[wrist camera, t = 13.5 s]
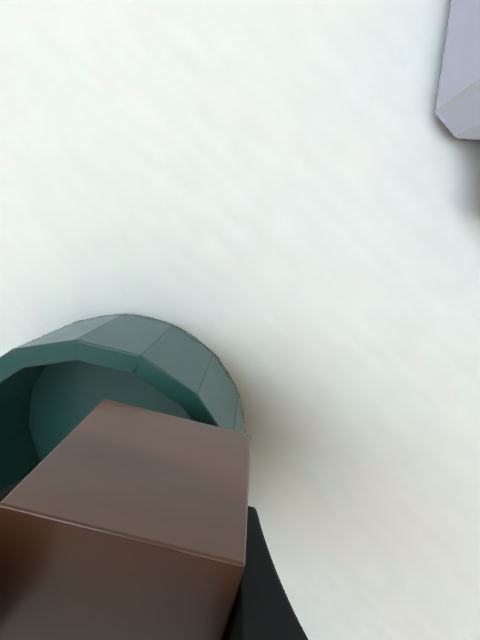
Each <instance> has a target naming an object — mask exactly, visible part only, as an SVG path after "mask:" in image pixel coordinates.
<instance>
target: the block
mask: <svg viewBox="0 0 480 640" xmlns="http://www.w3.org/2000/svg"><path fill="white" fill-rule="evenodd" d="M249 462H250V435H249V434H245V433H241V432H237V431H233V430H229V429H225V428H221V427H217V426H213V425H209V424H205V423H201V422H197V421H193V420H189V419H185V418H181V417H177V416H173V415H169V414H165V413H161V412H157V411H153V410H149V409H145V408H141V407H136V406H132V405H128V404H124V403H120V402H116V401H112V400H108V399H103V400H102V401H101V402H100V403H99V404H98V405H97V406H96V407H95V408H94V409H93V410H92V411H91V412H90V413H89V414H88V415H87V416H86V417H85V418H84V419H83V420H82V421H81V422H80V423H79V424H78V425H77V426H76V427H75V428H74V429H73V430H72V431H71V432H70V433H69V434H68V435H67V436H66V437H65V438H64V439H63V440H62V441H61V442H60V443H59V444H58V445H57V446H56V447H55V448H54V449H53V450H52V451H51V452H50V453H49V454H48V455H47V456H46V457H45V458H44V459H43V460H42V461H41V462H40V463H39V464H38V465H37V466H36V467H35V468H34V469H33V470H32V471H31V472H30V473H29V474H28V475H27V476H26V477H25V478H24V479H23V480H22V481H21V482H20V483H19V484H18V485H17V486H16V487H15V488H14V489H13V490H12V491H11V492H10V493H9V494H8V495H7V496H6V497H5V498H4V499H3V500H2V501H1V502H0V640H223V639H224V635H225V632H226V629H227V625H228V622H229V619H230V615H231V612H232V608H233V605H234V602H235V598H236V595H237V592H238V588H239V585H240V582H241V578H242V575H243V572H244V568H245V560H246V536H247V511H248V486H249Z"/></svg>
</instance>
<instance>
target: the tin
mask: <svg viewBox="0 0 480 640" xmlns="http://www.w3.org/2000/svg"><path fill="white" fill-rule="evenodd" d="M103 399H108V400H112V401H116V402H120V403H124V404H128V405H132V406H136V407H141V408H145V409H149V410H153V411H157V412H161V413H165V414H169V415H173V416H177V417H181V418H185V419H189V420H193V421H197V422H201V423H205V424H209V425H213V426H217V427H221V428H225V429H229V430H233V431H237V432H241V433H245V434H246V431H245V426H244V417H243V410H242V406H241V401H240V397H239V393H238V392H237V390H236V387H235V385H234V383H233V381H232V379H231V378H230V376H229V374H228V372H227V371H226V369H225V368H224V367H223V365H222V364H221V363H220V361H219V360H218V359H217V358H216V356H215V355H214V354H213V353H212V352H211V351H210V350H209V349H208V348H207V347H206V346H204V345H203V344H202V343H201V342H199V341H198V340H197V339H196V338H194V337H193V336H191V335H189V334H188V333H186V332H184V331H183V330H181V329H179V328H177V327H175V326H173V325H170V324H168V323H166V322H163V321H159V320H156V319H153V318H149V317H143V316H137V315H127V314H119V315H107V316H101V317H96V318H92V319H88V320H81V321H77V322H74V323H72V324H70V325H67V326H65V327H63V328H61V329H58V330H56V331H54V332H51V333H49V334H47V335H44V336H42V337H40V338H38V339H35V340H33V341H31V342H28V343H26V344H24V345H21V346H19V347H17V348H15V349H12V350H11V351H9V352H8V353H6V354H5V355H3V356H1V357H0V491H2V490H4V489H6V488H7V487H9V486H11V485H13V484H15V483H16V482H18V481H20V480H22V479H23V478H25V477H26V476H27V475H28V474H29V473H30V472H31V471H32V470H33V469H34V468H35V467H36V466H37V465H38V464H39V463H40V462H41V461H42V460H43V459H44V458H45V457H46V456H47V455H48V454H49V453H50V452H51V451H52V450H53V449H54V448H55V447H56V446H57V445H58V444H59V443H60V442H61V441H62V440H63V439H64V438H65V437H66V436H67V435H68V434H69V433H70V432H71V431H72V430H73V429H74V428H75V427H76V426H77V425H78V424H79V423H80V422H81V421H82V420H83V419H84V418H85V417H86V416H87V415H88V414H89V413H90V412H91V411H92V410H93V409H94V408H95V407H96V406H97V405H98V404H99V403H100V402H101V401H102V400H103Z"/></svg>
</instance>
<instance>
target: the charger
mask: <svg viewBox="0 0 480 640" xmlns="http://www.w3.org/2000/svg"><path fill="white" fill-rule="evenodd" d="M435 114H436V115H437V116H438V117H439V119H440V120H441V121H442V122H443V123H444V125H445V126H446V127H447V128H448V129H449V130H450V132H451V133H452V134H453V135H454V136H455V137H456V138H460V139H474V140H480V0H451V6H450V12H449V19H448V26H447V33H446V40H445V47H444V53H443V60H442V67H441V74H440V81H439V87H438V94H437V101H436V108H435Z"/></svg>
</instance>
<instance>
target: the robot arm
mask: <svg viewBox="0 0 480 640" xmlns="http://www.w3.org/2000/svg"><path fill="white" fill-rule="evenodd" d="M23 479H24V478H23ZM23 479H22V480H23ZM22 480H20V481H18V482H16V483H15V484H13V485H11V486H9V487H7V488H6V489H4V490H2V491H0V502H1V501H2V500H3V499H4V498H5V497H6V496H7V495H8V494H9V493H10V492H11V491H12V490H13V489H14V488H15V487H16V486H17V485H18V484H19V483H20V482H21V481H22ZM223 640H308V638H307V636H306V635H305V633H304V631H303V629H302V627H301V625H300V623H299V621H298V619H297V617H296V615H295V613H294V611H293V609H292V607H291V605H290V602H289V600H288V598H287V596H286V593H285V591H284V589H283V587H282V584H281V582H280V579H279V577H278V574H277V572H276V569H275V567H274V564H273V561H272V559H271V556H270V553H269V551H268V548H267V545H266V542H265V539H264V536H263V532H262V529H261V526H260V522H259V518H258V514H257V511H256V509H255V508H254V507H250V506H248V511H247V536H246V560H245V568H244V572H243V575H242V578H241V582H240V585H239V588H238V592H237V595H236V598H235V602H234V605H233V608H232V612H231V615H230V619H229V622H228V625H227V629H226V632H225V635H224V639H223Z"/></svg>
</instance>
